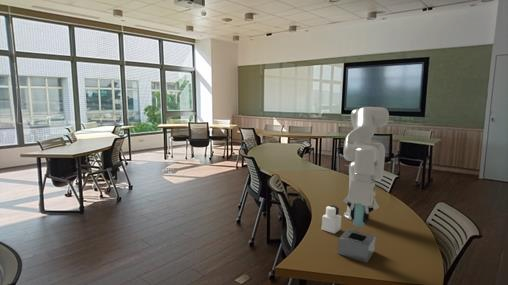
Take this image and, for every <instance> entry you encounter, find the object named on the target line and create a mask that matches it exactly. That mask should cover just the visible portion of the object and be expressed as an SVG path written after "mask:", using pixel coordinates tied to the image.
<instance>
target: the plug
mask: <svg viewBox="0 0 508 285" xmlns="http://www.w3.org/2000/svg"><path fill="white" fill-rule="evenodd" d="M364 213H365V206H363V205H362V204H360V203H357V204H355V208H354V220H352V226H354V227H356V228H364V227H365V223H364V222H363V221H364Z"/></svg>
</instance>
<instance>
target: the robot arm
mask: <svg viewBox="0 0 508 285" xmlns="http://www.w3.org/2000/svg"><path fill="white" fill-rule="evenodd" d="M389 113H390V112H389V111H388V109H387V107H383V106H382V107H377V106H376V107H375V106H363V107H360V108H355V109H353V110H352V111H351V113H350V121H351V124H352V128H353V129H352V130H351V131H350V132H349V133H348V134H347V135H346V136H345V139H344V143H343V158H344V160H346V161H348V162H350V163H349V165H348V176H349V180H348V181H349V184H348V194H347V196H346V197H344V198H343V202H344V203H345V204H346V205H347V207H346V211H345V212H344V213H343V217H344V218H346V219H347V220H350V221H353V220H354V208H355V204H357V203H360V204H362V205H363V206H365V213H364V221H363V222H364V224H365V223H366V222H368V221H369V218H370V213H371V212H373V211H374V210H377V209H379V207H380V206H379V204H378V203H377V200H376V184H375V182H376V181H381V180H383V177H384V170H385V169H384V168H385V159H386V158H385V156H386V148H385V145H384V144H383V143H381V142H377V141H372V137H373V136H374V134H376V127H385V126H387V124H388V123H389V119H390V114H389Z"/></svg>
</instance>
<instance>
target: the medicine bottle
mask: <svg viewBox="0 0 508 285" xmlns="http://www.w3.org/2000/svg"><path fill="white" fill-rule="evenodd" d="M339 210H340V208H339V207H338V206H336V205H334V204H333V205H332V204H330V205H327V206H326V207H325V214H323V215H322V216H321V226H320V227H321V230H322V231H325V232H328V233H331V234H336V233H337V232H339V231H340V230H341V228H342V226H341V225H342V215H339Z"/></svg>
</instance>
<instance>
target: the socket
mask: <svg viewBox="0 0 508 285" xmlns="http://www.w3.org/2000/svg"><path fill="white" fill-rule="evenodd" d="M376 237H377V236H376V235H373V234H369V233H366V232H363V231H358V230H356V229H355V230H354V229H352V228H351V229H350V228H347V229H346V230H345V231H344V232H343V233H342V234H341V235H340V236H339V237H338V244H337V254H338V255H341V256H343V257H346V258H350V259H353V260H356V261H358V262H359V261H360V262H363V263H365V264H367V263H368V262H369V260H370V259H371V257H372V256H373V254H374V252H375V246H376Z"/></svg>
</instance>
